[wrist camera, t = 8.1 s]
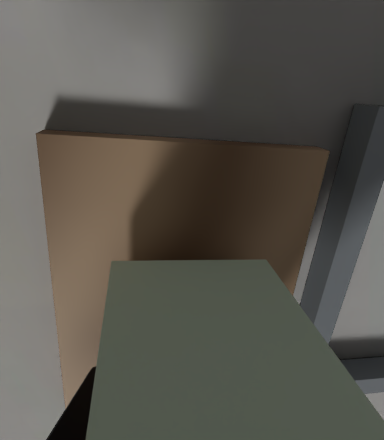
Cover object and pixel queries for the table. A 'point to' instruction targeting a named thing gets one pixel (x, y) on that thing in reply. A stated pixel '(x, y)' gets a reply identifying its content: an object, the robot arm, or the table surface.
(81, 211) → the walnut pad
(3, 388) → the table surface
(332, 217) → the bin rim
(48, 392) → the table surface
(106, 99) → the table surface
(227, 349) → the box
